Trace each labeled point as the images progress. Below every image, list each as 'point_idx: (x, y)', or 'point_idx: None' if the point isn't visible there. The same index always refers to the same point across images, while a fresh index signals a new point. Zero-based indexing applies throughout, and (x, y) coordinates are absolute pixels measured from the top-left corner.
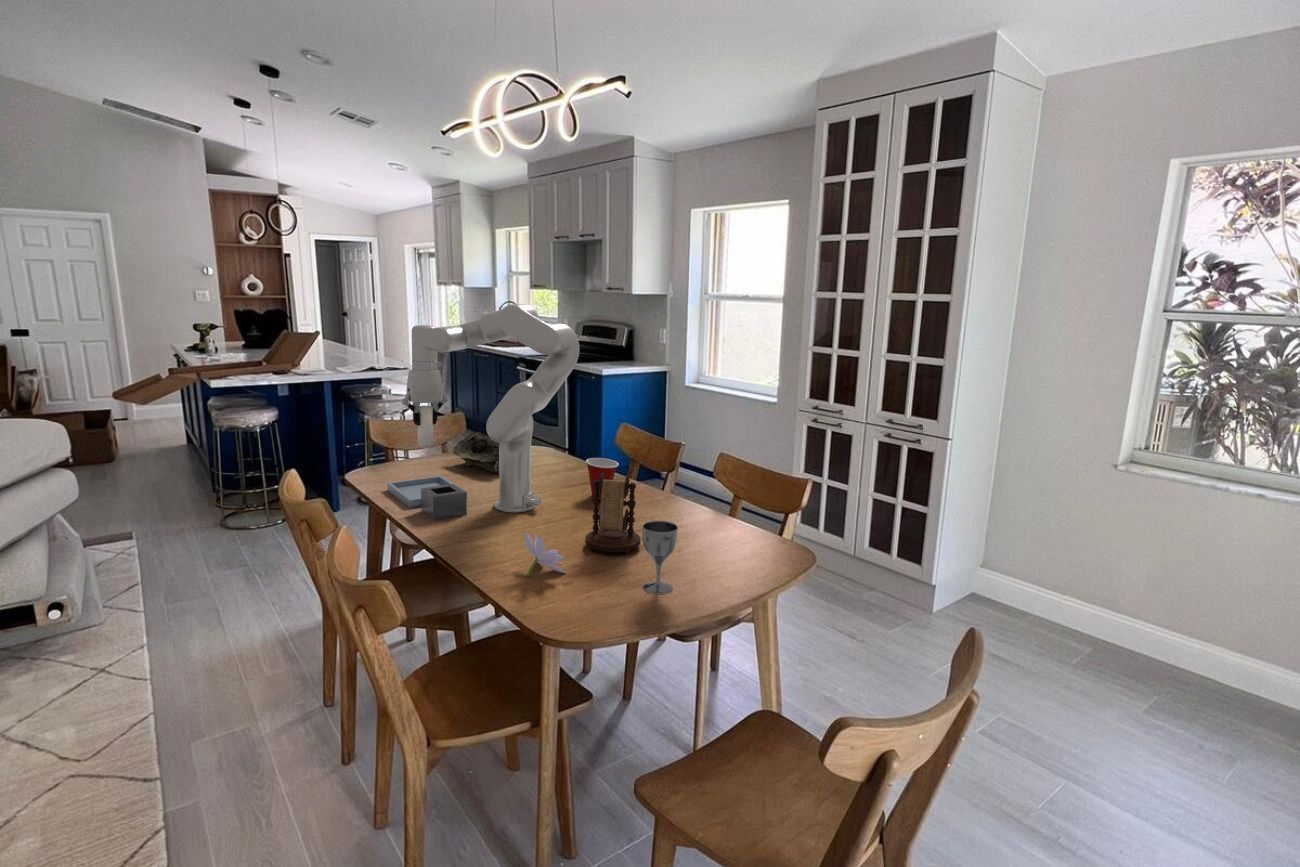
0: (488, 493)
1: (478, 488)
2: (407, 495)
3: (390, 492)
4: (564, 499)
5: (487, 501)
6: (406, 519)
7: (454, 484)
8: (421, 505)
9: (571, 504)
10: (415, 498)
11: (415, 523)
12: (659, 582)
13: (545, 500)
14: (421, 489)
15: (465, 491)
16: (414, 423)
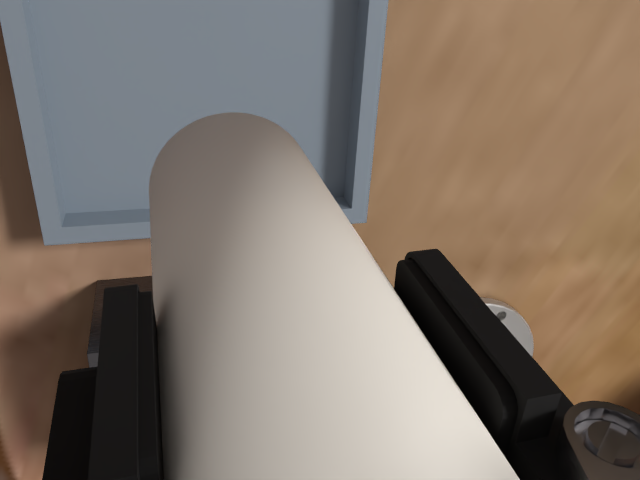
0: (481, 159)
1: (495, 50)
2: (47, 149)
3: None
4: (630, 346)
5: None
6: (2, 360)
7: (380, 56)
8: (95, 298)
9: (604, 396)
10: (107, 116)
11: (33, 413)
12: None
13: (579, 334)
14: (88, 360)
15: (363, 213)
16: (105, 297)
